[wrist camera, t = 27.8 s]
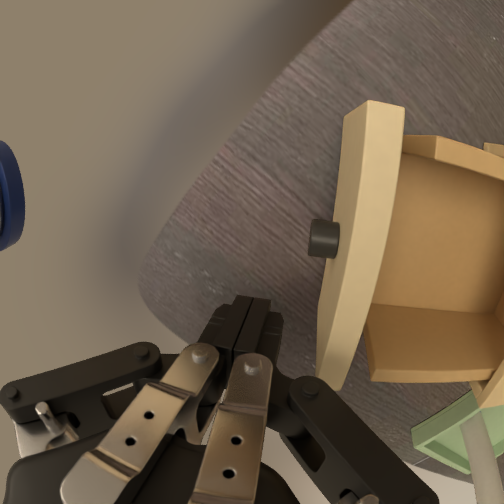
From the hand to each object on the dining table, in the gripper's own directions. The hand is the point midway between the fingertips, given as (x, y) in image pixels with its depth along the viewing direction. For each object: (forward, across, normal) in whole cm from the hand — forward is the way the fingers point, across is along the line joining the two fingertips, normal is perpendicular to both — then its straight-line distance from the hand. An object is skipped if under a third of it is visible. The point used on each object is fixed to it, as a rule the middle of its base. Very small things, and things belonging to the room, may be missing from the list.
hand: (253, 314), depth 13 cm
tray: (+6, -28, +17) cm, 33 cm away
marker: (+5, -22, +14) cm, 27 cm away
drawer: (+5, -9, -3) cm, 11 cm away
